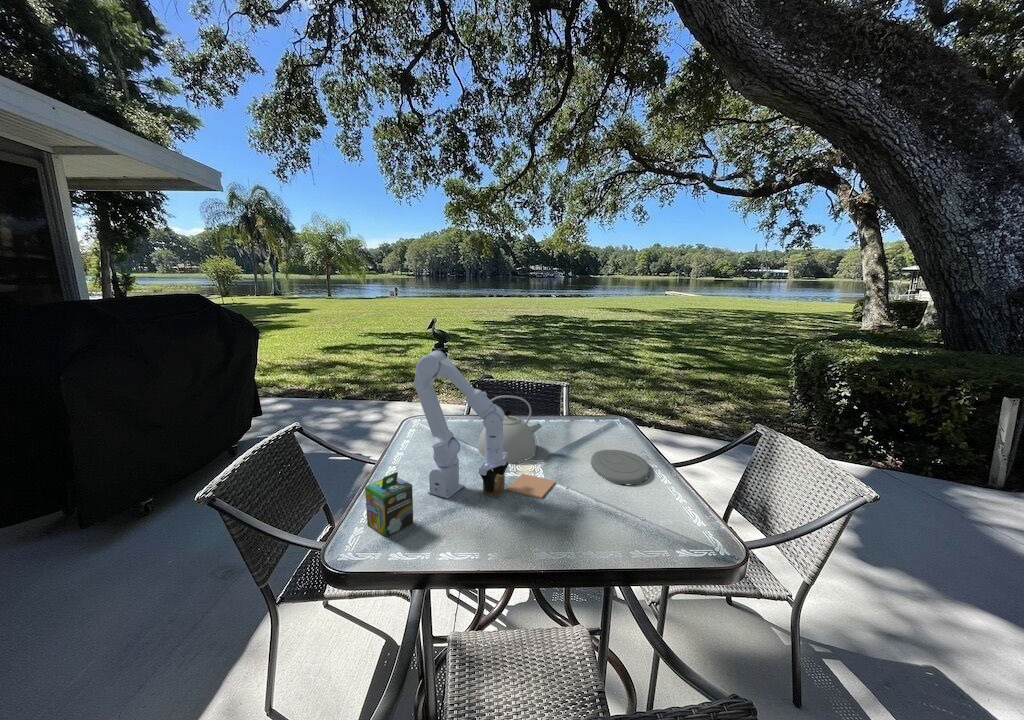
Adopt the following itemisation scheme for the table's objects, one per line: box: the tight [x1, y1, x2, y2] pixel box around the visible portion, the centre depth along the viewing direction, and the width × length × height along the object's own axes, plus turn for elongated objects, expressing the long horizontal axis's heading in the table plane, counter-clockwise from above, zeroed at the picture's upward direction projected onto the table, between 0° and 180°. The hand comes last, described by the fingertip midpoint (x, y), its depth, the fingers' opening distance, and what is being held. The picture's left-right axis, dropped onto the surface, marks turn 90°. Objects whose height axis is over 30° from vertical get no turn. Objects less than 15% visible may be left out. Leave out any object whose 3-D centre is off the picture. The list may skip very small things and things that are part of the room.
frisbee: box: [590, 449, 651, 485], centre depth 152 cm, size 20×27×3 cm
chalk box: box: [364, 471, 414, 538], centre depth 113 cm, size 9×9×15 cm
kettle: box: [477, 395, 543, 464], centre depth 165 cm, size 25×23×22 cm
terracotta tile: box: [506, 473, 556, 500], centre depth 137 cm, size 12×12×1 cm
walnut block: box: [482, 474, 506, 498], centre depth 133 cm, size 5×5×5 cm
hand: (493, 487), depth 133 cm, fingers closed on walnut block, 5 cm apart
